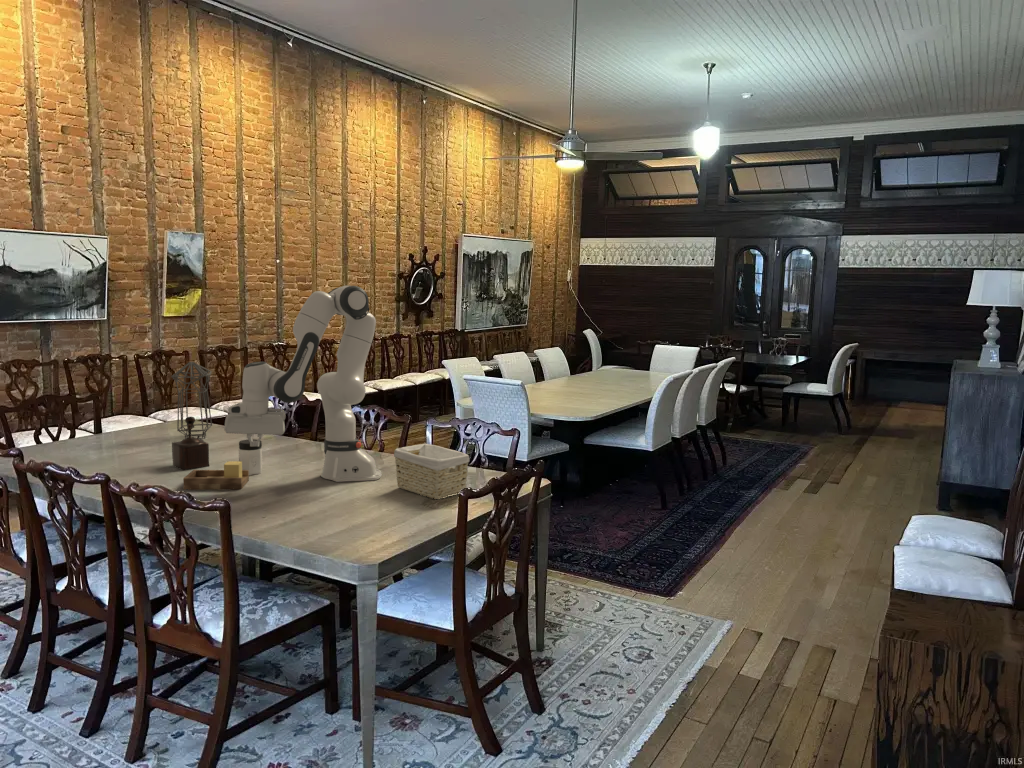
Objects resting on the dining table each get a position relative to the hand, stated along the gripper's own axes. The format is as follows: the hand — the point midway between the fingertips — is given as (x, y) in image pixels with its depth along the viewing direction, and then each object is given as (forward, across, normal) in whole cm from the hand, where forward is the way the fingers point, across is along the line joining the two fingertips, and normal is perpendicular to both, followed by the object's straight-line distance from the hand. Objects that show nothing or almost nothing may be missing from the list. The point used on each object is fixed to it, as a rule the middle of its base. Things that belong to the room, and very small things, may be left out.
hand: (254, 446), depth 269 cm
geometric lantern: (+14, +44, -83) cm, 95 cm away
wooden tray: (+14, +12, 0) cm, 19 cm away
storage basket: (+13, -63, +7) cm, 64 cm away
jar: (+14, +5, -19) cm, 24 cm away
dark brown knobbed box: (+15, +31, -31) cm, 46 cm away
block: (+12, +7, 0) cm, 14 cm away
